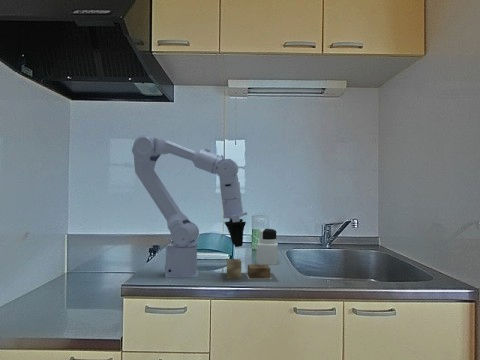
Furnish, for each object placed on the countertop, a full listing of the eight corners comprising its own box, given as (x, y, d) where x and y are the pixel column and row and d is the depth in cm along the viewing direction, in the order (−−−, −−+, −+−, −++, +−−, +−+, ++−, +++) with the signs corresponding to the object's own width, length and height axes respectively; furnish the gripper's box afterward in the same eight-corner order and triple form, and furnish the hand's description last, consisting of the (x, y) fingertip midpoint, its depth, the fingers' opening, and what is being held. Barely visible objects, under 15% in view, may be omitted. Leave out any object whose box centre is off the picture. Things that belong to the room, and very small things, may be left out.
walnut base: (249, 278, 137) (249, 268, 137) (247, 274, 143) (247, 264, 143) (270, 278, 138) (270, 268, 138) (267, 274, 144) (267, 264, 144)
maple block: (227, 278, 137) (227, 261, 137) (226, 275, 141) (226, 259, 141) (241, 278, 137) (241, 261, 137) (239, 275, 141) (240, 259, 141)
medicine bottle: (277, 262, 167) (278, 228, 167) (277, 265, 160) (277, 230, 160) (257, 261, 168) (258, 227, 168) (256, 265, 161) (256, 229, 161)
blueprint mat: (222, 282, 133) (222, 281, 133) (220, 274, 145) (220, 272, 145) (279, 282, 134) (279, 281, 134) (272, 274, 146) (272, 273, 146)
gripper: (247, 197, 133) (253, 245, 132) (242, 197, 147) (248, 240, 147) (222, 201, 132) (228, 249, 132) (220, 200, 146) (225, 244, 146)
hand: (237, 245), depth 139 cm, fingers open, 7 cm apart
